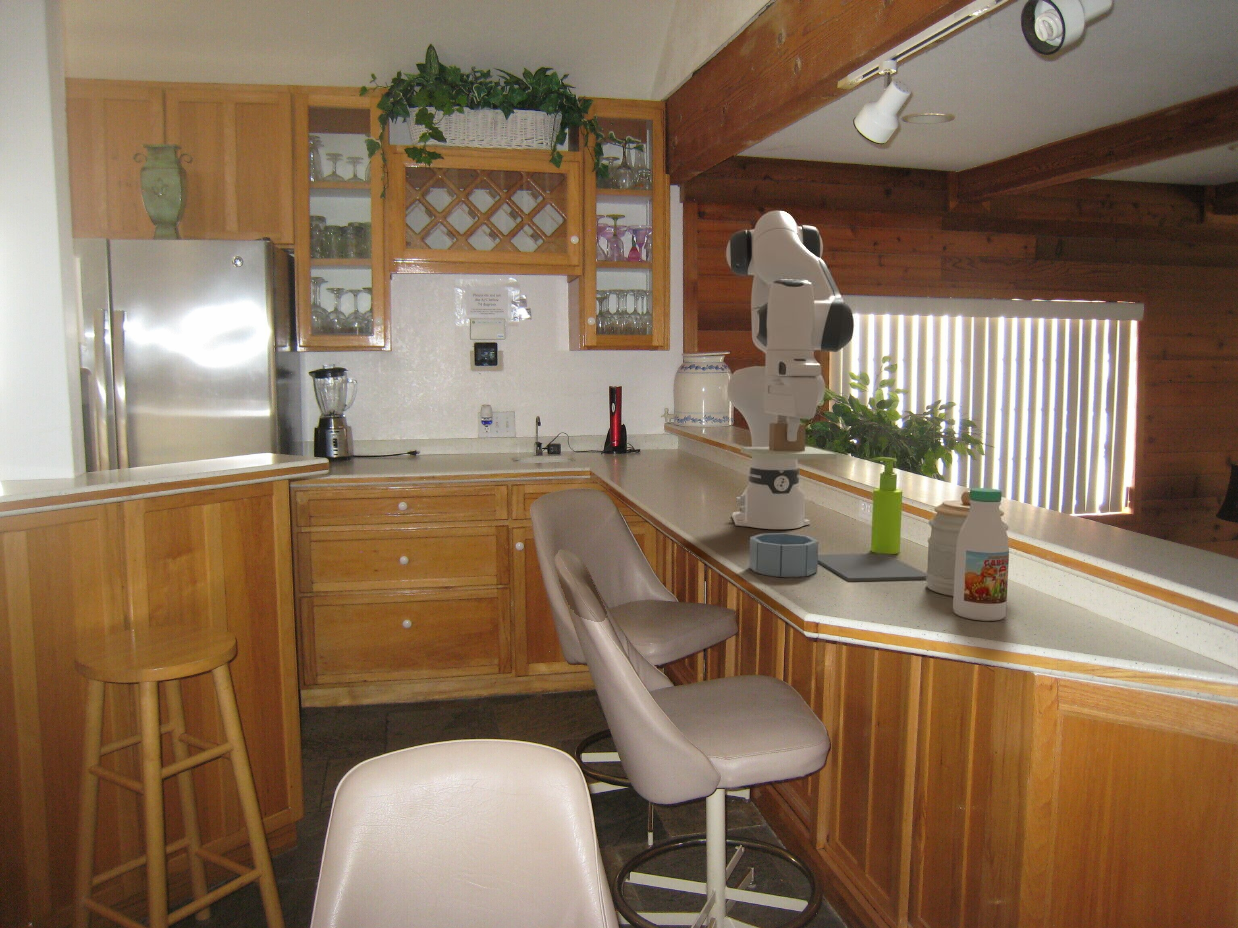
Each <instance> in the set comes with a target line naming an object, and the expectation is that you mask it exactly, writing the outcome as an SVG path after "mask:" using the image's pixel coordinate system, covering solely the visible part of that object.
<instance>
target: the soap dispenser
mask: <svg viewBox="0 0 1238 928" xmlns="http://www.w3.org/2000/svg"><path fill="white" fill-rule="evenodd" d="M869 461H871V462H873V461H880V462H882V461H883V462H884V471H882V472H881V473H880V474H879V487H878V488H874V489H873V490H872V491H873V492H872V511H871V512H872V515H871V516H872V517H871V518H872V519H871V535H870V537H871V540H870V551H871V552H873V553H874V554H876V553H885V554H887V555H896V554H900V551H901V535H902V534H901V533H902V530H901V529H902V513H903V512H902V511H903V510H902V507H903V490H900V489H897V481H898V480H897V479H898V478H897V477H898V475H897V473H895V472H894V463H897V462H898V459H897V458H894V457H888V456H887V457H886V456H879V457H874V458H873V457H871V458H869Z"/></svg>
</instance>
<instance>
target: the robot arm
mask: <svg viewBox="0 0 1238 928" xmlns="http://www.w3.org/2000/svg"><path fill="white" fill-rule="evenodd" d="M725 250H726V251H725V256H726V261H727V264H728V266H729V268H730V271H731V272H732V273H733V274H734V275H736V276H743V277H748V275H749V276H753V278H752V279H753V280H752V287H751V297H750V298H751V301H750V307H751V309H750V310H751V312H750V313H751V315H750V316H751V338H752V342H753V344H754V345H755V348H758V350H760V351H762V352H763V353H764V354H765V365H764V366H761V365H758V366H757V365H754V366H748V367H744V368H740V369H737V370H735V371H734V372H733V373H732V375H731V376H730V378H729V380H728V383H727V397H728V399H729V401H730V403H731V405H732V406H733V407H734V408H735V409H737V410H738V411H739V413H741V415H742V416H743V418H744V420H745V421H746V423H747V425H748V428H749V433H750V438H751V439H750V440H751V447H769V431H770V423H788V425H787V431H785V439H786V440H787V441H796V440H797V431H798V428H799V425H800V423H801V419H814V417H815V415H816V413H817V407H818V406H820V404H821V403H822V401H823V400H824V397H825V393H826V382H825V380H824V378H823V375H822V365H821V363H819V362H818V361H817V359H816V358H815V356H814V355H815V351H822V352H832V353H837V352H839V351H841V350H843V348H844V347H846V346H847V345H848V344H849V343H850V342H851V341H852V339H853V335H854V327H855V321H854V315H853V312H852V308H851V307H850V306H849V304H848V302H846V301H845V299H843V297H842V295H841V293H840V290H839V288H838V286H837V285H836V282H835V280H834V278H833V276H832V275H831V272H830V270H829V268H828V266H827V264H826V263H825V261H824V260H823V259H822V256H823V251H824V243H823V239H822V237H821V235H820V231H819V230H818V229H817V227H816V226H811V225H806V224H801V226H800V225H798V224H797V222H796V220H795V219H794V218H793V216H792V215H791V214H789V213H787V212H786V211H783V210H772V211H767V213H764V214H763V215H762V216H761V217H760V218H759V219H758V220H757V222H756V224H755V226H754V228H753V229H741V230H738V231H736V232H733V234H732V235H731V236H730V237H729V240H728V243H727V245H726V249H725ZM798 461H799V459H769V460H762V459H759V458H756V457H753V456H751V467H750V469H749V473H748V481H749V482H748V484H747V486H746V487H745V489H744V491H743V492H742V494H741V495H740V496H736V498H735V506H736V507H740V508H739V511H733V512H731V517H732V520H733V522H734V525H735V526H739V527H750V528H756V529H765V530H766V529H767V530H791V529H798V528H801V527H803V526H808V525H811V520H810V519H809V518H808V519H807V518H805V517H806V515H805V512H806V510H805V492H804V491H803V490H802V489H801V488H800V487H799V483H800V477H801V476H800V469H799V468H798Z"/></svg>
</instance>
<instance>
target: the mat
mask: <svg viewBox="0 0 1238 928" xmlns="http://www.w3.org/2000/svg"><path fill="white" fill-rule="evenodd" d="M818 565H821V566H823V567H824V568H826V569H828V571H831V572H832V573H833V574H836V575H837V576H839V577H840V578H842V579H844V580H845V581H847V582H877V581H878V582H880V581H881V582H883V581H886V582H888V581H915V580H916V581H919V580H920V581H921V580H925V581H926V572H924V571H922V570H920V569H917V568H916V567H913V566H912V565H909V564H907V563H905V562H903V561H901V560H899V559H897V558H895V557H892V556H891V555H890V554H885V553H838V554H837V553H836V554H835V553H833V554H818Z"/></svg>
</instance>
